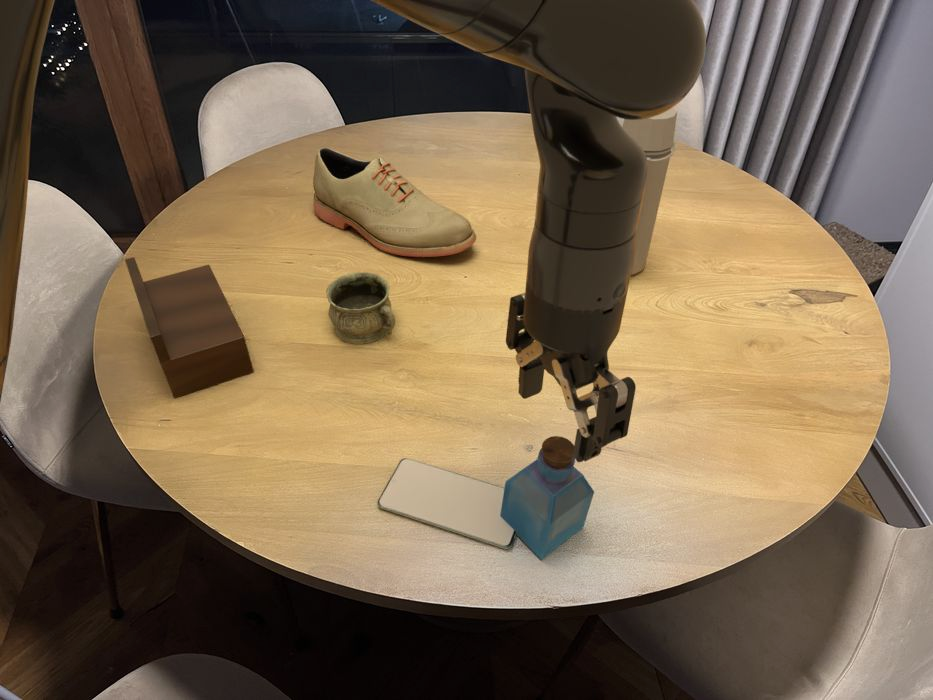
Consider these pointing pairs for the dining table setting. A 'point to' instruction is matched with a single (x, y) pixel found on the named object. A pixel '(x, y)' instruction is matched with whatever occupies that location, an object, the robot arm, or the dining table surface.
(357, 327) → the vessel
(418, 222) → the oxford shoe
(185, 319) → the wooden display stand
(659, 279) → the dining table surface
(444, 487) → the smartphone
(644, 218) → the water bottle
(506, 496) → the perfume bottle
